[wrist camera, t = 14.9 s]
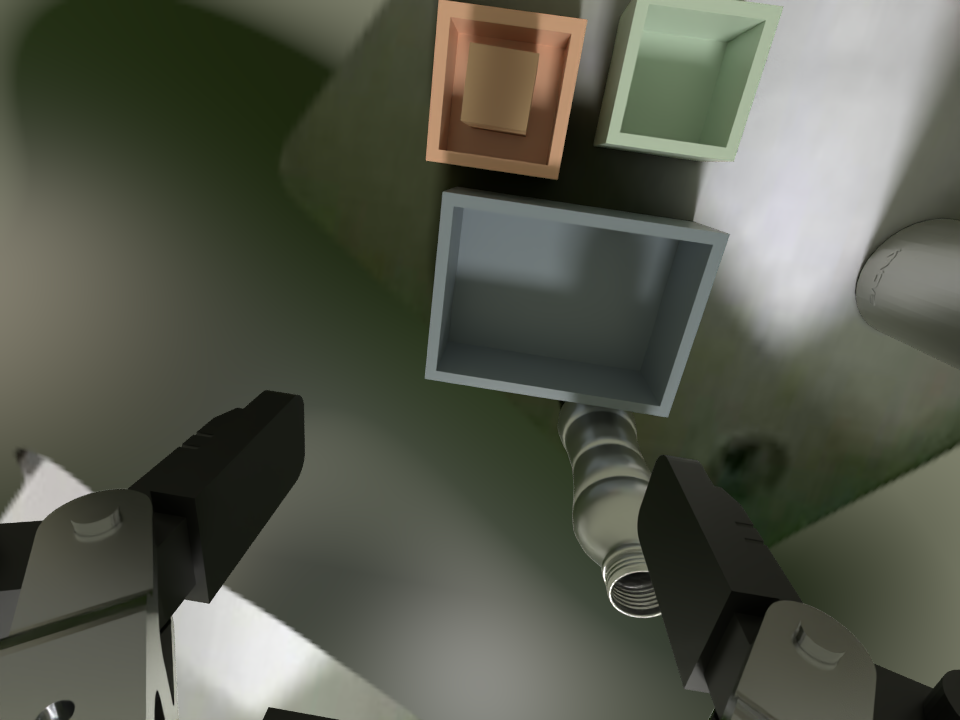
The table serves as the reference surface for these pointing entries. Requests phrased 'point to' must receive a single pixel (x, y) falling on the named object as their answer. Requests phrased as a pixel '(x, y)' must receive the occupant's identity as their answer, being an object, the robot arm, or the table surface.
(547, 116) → the peach square tray
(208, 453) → the robot arm
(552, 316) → the slate bin
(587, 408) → the plastic bottle
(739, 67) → the pale green open box
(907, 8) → the table surface
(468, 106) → the walnut block
